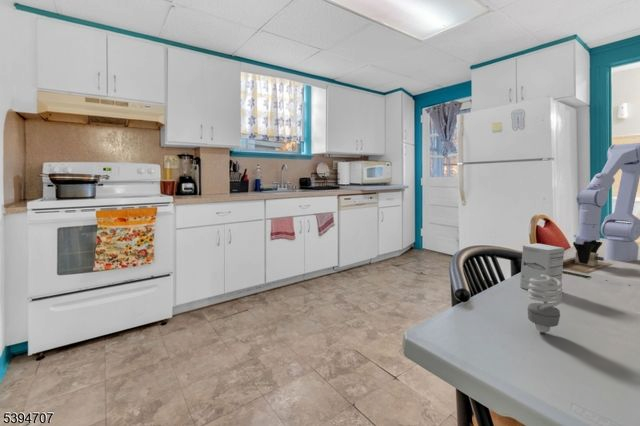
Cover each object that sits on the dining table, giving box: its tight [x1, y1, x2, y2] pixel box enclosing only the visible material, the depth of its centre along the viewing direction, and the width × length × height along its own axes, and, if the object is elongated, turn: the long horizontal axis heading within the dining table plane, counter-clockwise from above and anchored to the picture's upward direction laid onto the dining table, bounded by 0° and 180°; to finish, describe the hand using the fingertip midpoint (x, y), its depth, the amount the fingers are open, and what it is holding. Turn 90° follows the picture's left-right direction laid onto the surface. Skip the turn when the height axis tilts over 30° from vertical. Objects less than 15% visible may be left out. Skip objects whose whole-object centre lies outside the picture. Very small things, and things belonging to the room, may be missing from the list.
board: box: [562, 256, 614, 279], centre depth 111 cm, size 22×9×3 cm, turn 121°
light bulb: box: [527, 275, 563, 334], centre depth 64 cm, size 6×6×12 cm
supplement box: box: [519, 242, 565, 292], centre depth 90 cm, size 7×7×13 cm
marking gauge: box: [575, 251, 605, 266], centre depth 111 cm, size 4×7×4 cm, turn 31°
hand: (586, 262), depth 112 cm, fingers closed on marking gauge, 4 cm apart
